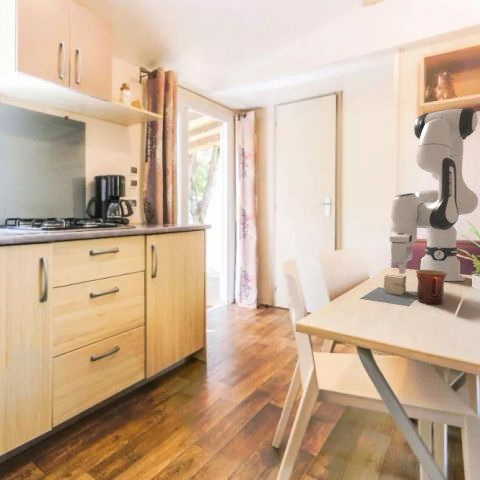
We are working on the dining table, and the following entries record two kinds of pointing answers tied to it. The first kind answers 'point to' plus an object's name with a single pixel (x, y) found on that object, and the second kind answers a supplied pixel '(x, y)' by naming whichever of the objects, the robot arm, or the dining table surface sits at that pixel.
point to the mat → (391, 297)
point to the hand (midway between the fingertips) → (402, 273)
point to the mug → (430, 286)
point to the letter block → (395, 284)
